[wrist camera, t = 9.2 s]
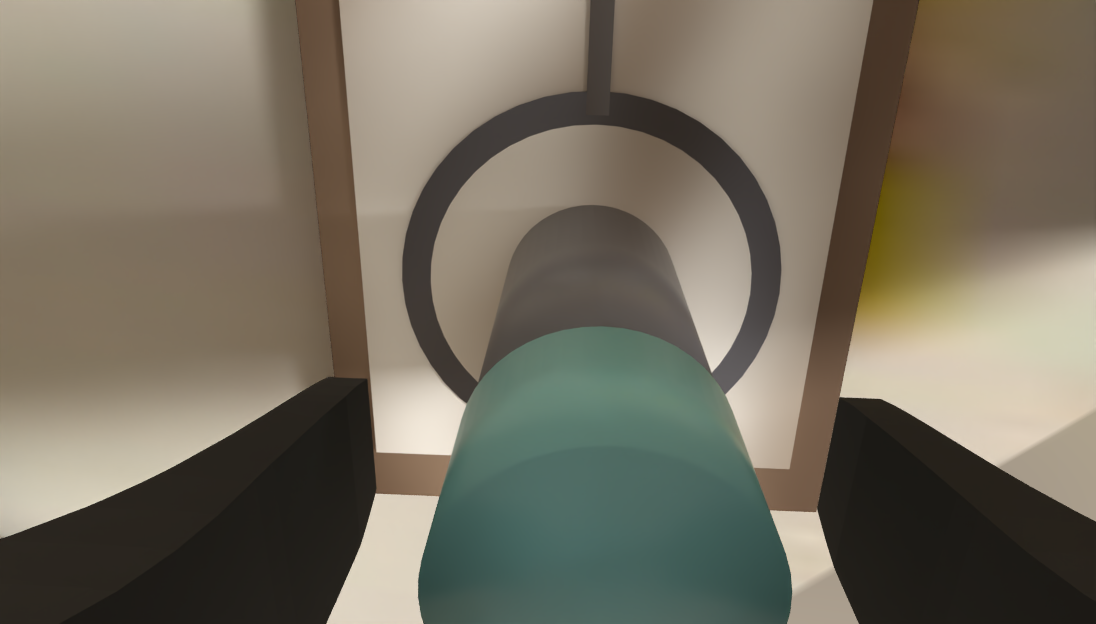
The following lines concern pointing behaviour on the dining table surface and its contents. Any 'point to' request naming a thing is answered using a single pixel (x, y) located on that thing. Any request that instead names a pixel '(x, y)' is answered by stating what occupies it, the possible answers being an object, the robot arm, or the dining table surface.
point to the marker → (599, 453)
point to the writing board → (600, 190)
